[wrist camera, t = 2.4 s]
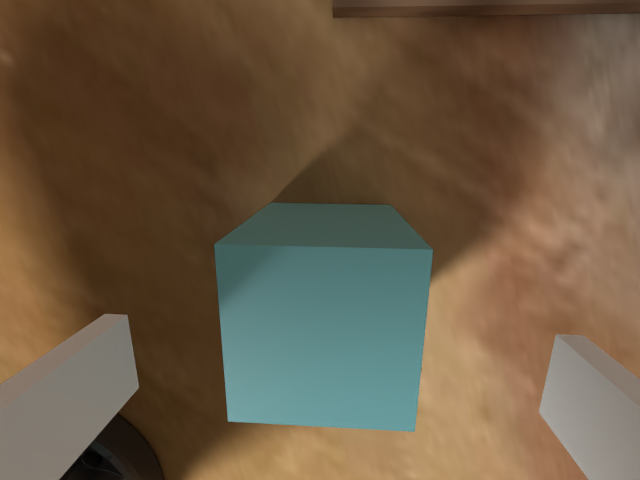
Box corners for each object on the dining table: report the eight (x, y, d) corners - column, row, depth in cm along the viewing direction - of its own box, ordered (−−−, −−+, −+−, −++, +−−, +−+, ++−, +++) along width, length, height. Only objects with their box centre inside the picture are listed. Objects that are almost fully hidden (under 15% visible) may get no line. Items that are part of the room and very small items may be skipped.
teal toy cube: (273, 311, 21) (227, 421, 13) (270, 202, 19) (213, 244, 11) (383, 314, 21) (414, 431, 12) (390, 204, 19) (433, 249, 10)
